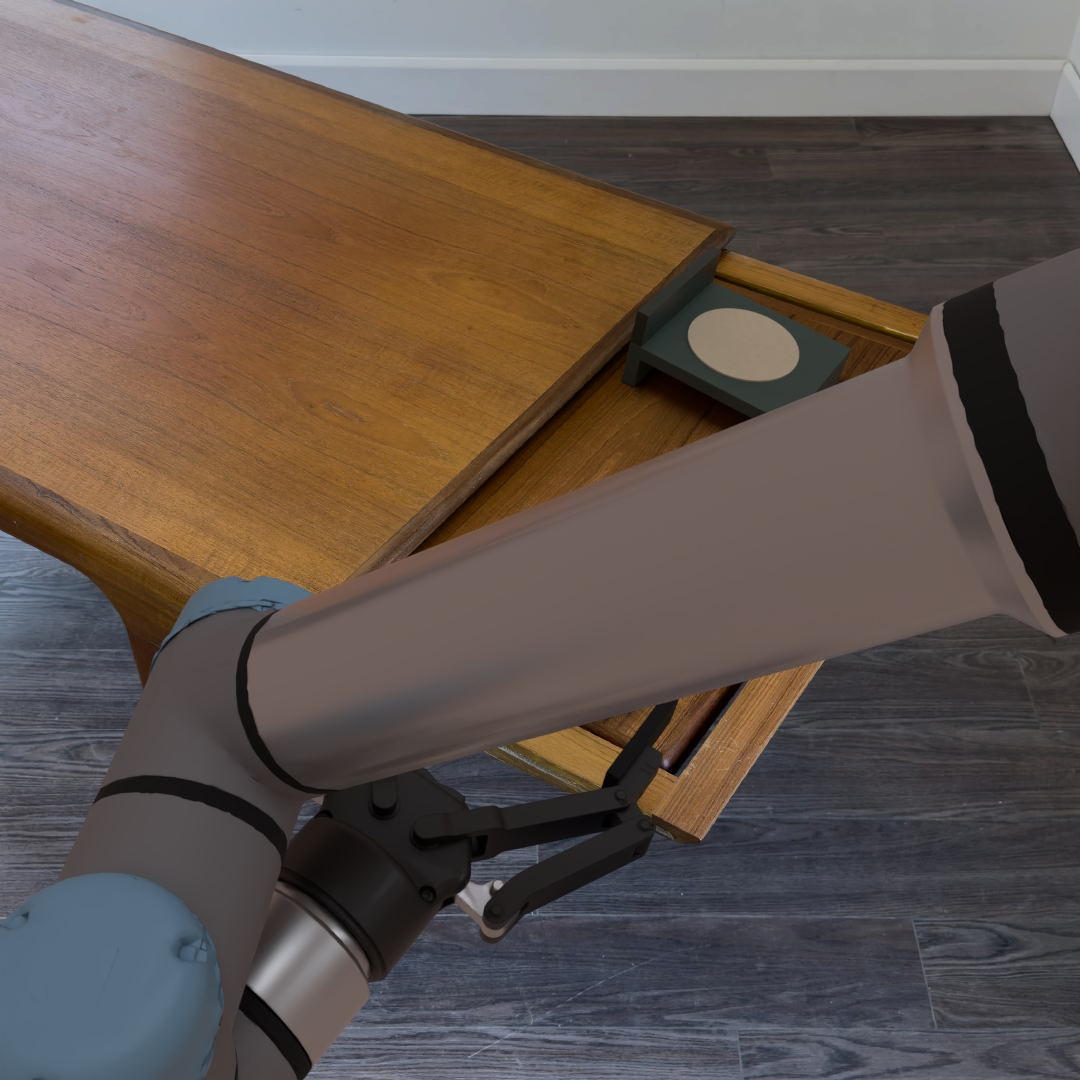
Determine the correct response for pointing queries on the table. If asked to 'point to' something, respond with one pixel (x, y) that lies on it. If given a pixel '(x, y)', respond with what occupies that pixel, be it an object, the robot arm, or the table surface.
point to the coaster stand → (729, 344)
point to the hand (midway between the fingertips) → (568, 641)
